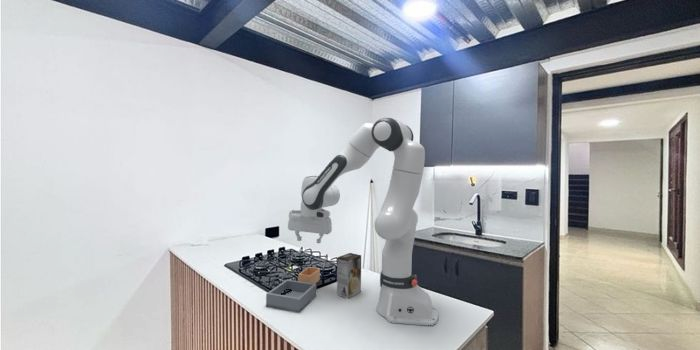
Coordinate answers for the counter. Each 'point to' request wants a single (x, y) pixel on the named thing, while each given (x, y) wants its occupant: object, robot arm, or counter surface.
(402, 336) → the counter surface
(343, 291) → the coffee box
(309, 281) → the orange crate
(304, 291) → the grey crate
